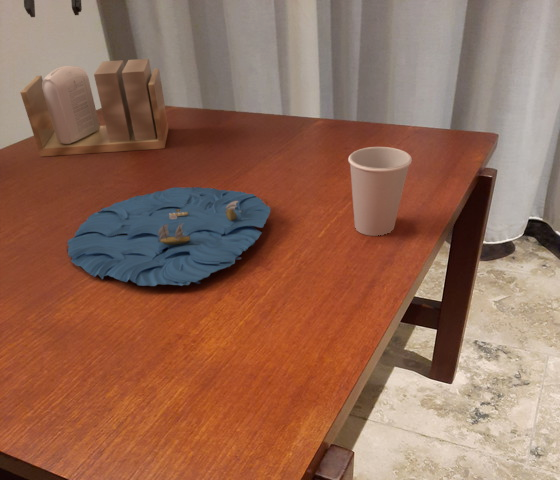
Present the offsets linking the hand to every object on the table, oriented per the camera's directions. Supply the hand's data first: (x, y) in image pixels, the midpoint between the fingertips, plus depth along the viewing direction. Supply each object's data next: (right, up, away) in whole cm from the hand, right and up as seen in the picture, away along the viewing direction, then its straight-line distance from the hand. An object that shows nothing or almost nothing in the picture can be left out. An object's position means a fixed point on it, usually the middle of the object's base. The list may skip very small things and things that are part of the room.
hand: (53, 13), depth 108 cm
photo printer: (+4, -23, +3) cm, 23 cm away
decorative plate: (+29, -51, -28) cm, 65 cm away
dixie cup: (+58, -49, -28) cm, 81 cm away
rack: (+9, -23, +4) cm, 26 cm away
